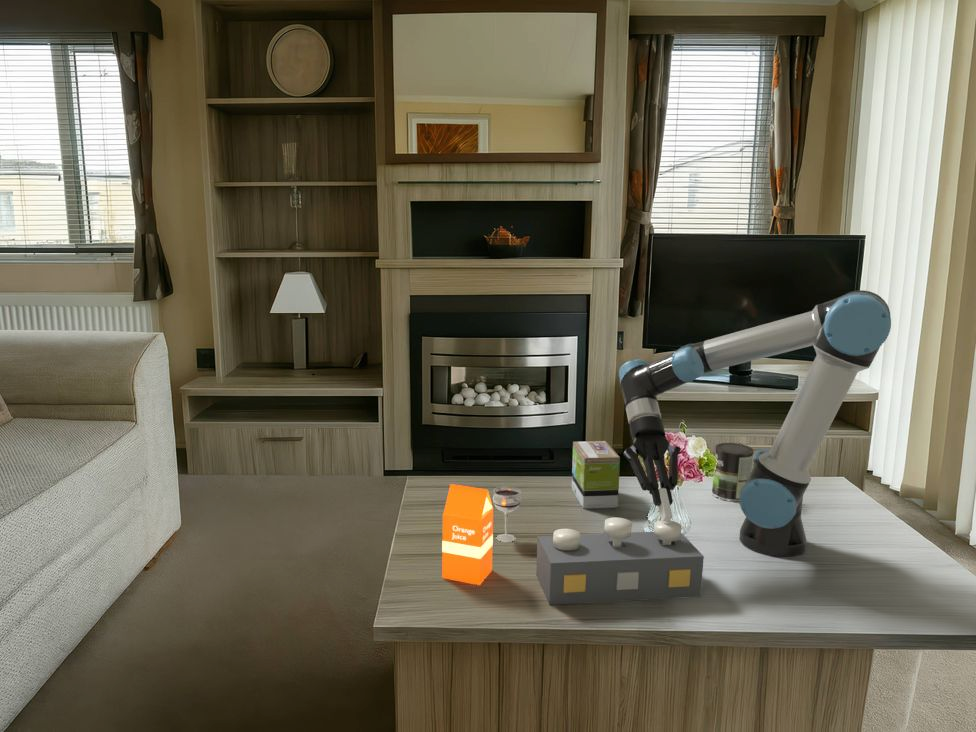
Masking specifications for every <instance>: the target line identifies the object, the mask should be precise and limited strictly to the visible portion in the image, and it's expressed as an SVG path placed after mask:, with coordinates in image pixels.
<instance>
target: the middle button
mask: <svg viewBox="0 0 976 732" xmlns="http://www.w3.org/2000/svg"><path fill="white" fill-rule="evenodd" d="M632 524H633V523H632V521H631V520H629V519H628V518H627V519H626V518H623V517H618V516H617V517H610V518H606V519H605V520H604V527H603V528H604V529H603V530H604V531H603V534H605V535H607V536H608V537H611V538H613V547H621V543H622V539H625V538H629V537H630V536H631V533H632V529H633V528H632V526H633V525H632Z"/></svg>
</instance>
